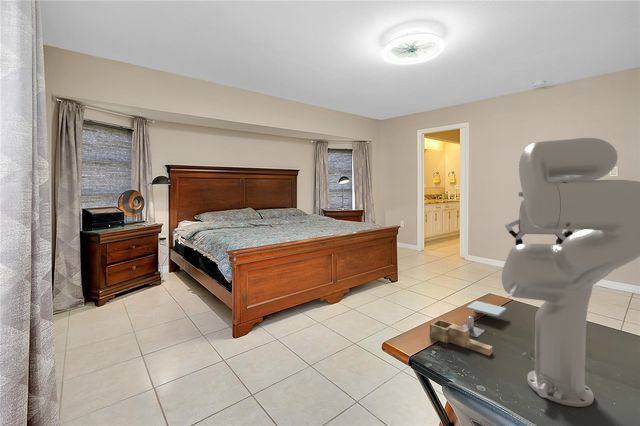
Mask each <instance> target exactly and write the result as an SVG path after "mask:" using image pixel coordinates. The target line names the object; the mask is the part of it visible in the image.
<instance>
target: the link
mask: <svg viewBox="0 0 640 426" xmlns="http://www.w3.org/2000/svg"><path fill="white" fill-rule="evenodd" d="M429 338H431V339H434V340H437V341H440V342H442V343H444V344H448V343H452V344H453V345H456V346H460V347H462V348H467V349H468V350H469V349H470V350H472V351H475V352H477V353H480V354H483V355H486V356H488V357H490V356H491V355H492V354H493V346H492V345H489V344H486V343H483V342H480V341H477V340H474V339H471V338H470V335H469V329H468V328H465V327H461V325H458V324H455V323H453V322H450V321H448V320H447V321H446V320H443V319H440V318H437V319H436V320H434V321H432V322H431V323H430V324H429Z"/></svg>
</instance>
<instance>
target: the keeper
mask: <svg viewBox="0 0 640 426" xmlns="http://www.w3.org/2000/svg"><path fill="white" fill-rule="evenodd" d="M465 307H466V309H467V310H470V311H473V312H474V311H475V312H474V313H478V314H486V315H489V316H493V317H497V318H498V317H499V316H500V315H502V314H503V313H504V312H506V310H507V307H504V306H499V305H495V304H491V303H487V302H482V301H479V300H475V301H473V302H471V303H470V304H468V305H467V306H465Z"/></svg>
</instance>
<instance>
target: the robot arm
mask: <svg viewBox="0 0 640 426" xmlns="http://www.w3.org/2000/svg"><path fill="white" fill-rule="evenodd" d="M618 159H619V158H618V153H617V150H616V148H615V146H613V144H611V143H610V142H608V141H606V140H603V139H601V138H598V137H580V138H579V137H578V138H569V139H568V138H567V139H557V140H555V139H554V140H546V141H538V142H534V143H531V144H529V145H527V146H526V147H525V149H524V150H523V151H522V153H521V155H520V158H519V161H518V163H519V164H518V172H519V173H518V175H519V181H520V182H519V183H520V186H521V191H519V192H518V197H520V198H521V197H522V198H523V200H522V199H521V203H520V205H519V206H520V207H519V213H518V219H515V220H512V221H510V222H509V223H506V224H505V225H504V227H505V228H506V230H507V232H508V233H509V234H510V235H511V236H512V237H513V238H515V245H514V246H512V248H511V249H510V251H509V253H508V254H507V257H506V260H505V263H504V264H503V267H502V271H501V285H502V287H503V289H504V291H505V292H506V293H507V294H508V295H509V296H511V297H513V298H517V299H524V300H534V301H535V300H536V301H544V303H543V304H541V305H540V306H539V308H538V310H537V311H536V313H535V317H534V318H535V319H534V370H531V371H529V372H528V373H527V377H526V381H527V384H528V385H529V387H530V388H531V389H532V390H533V391H534V392H536V393H537V394H538V395H539V397H541V398H544V399H548V400H550V401H552V402H555V403H557V404H561V405H563V406H564V405H565V406H569V407H578V408H581V407H588V406H590V405H592V404H593V403H594V398H595V397H594V393H593V391H592V390H591V388H590V387H589V386H588V385H586V347H587V346H586V343H587V342H586V340H587V339H586V336H587V319H588V318H587V315H588V308H589V304H590V303H589V302H590V300H591V299H590V298H591V295H592V293H593V291H592V290H593V286H595V284H597V283H599V282H600V281H601V280H603V279H604V278H605V277H607V276H609V275H610V274H611V273H612V272H613V271H615V270H616V269H619V268H621V267H623V266H625V265H628V264H629V263H631V262H633V261H635V260H637V259H638V258H639V257H640V181H637V180H629V179H601V178H604V177H605V176H606V175H608V174H609V173H611V172H612V171H613V170H614V168H615V167H616V165H617V163H618ZM516 226H518V227H517V228H518V231H517V232H516V231H514V229H513V228H514V227H516ZM564 230H566V231H564ZM576 230H577V231H576ZM563 231H564V232H563ZM575 231H576V232H575ZM525 235H555V236H556V237H557V238H556V239H555V243H524V242H523V239H522V237H524V236H525Z"/></svg>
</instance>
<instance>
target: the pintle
mask: <svg viewBox="0 0 640 426" xmlns="http://www.w3.org/2000/svg"><path fill="white" fill-rule="evenodd" d="M474 318H475V317H474V316H472V315H467V317H466V320H467V321H466V322H467V324H466V323H464V324H463V325H462V326H461V325H460V326H461V327H465V328H468V329H469V337H473V338H478V337H479V336H481V335H482V334H483V333H485V332H486V329H482V328H479V327H475V326H474V324H475V319H474Z"/></svg>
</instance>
